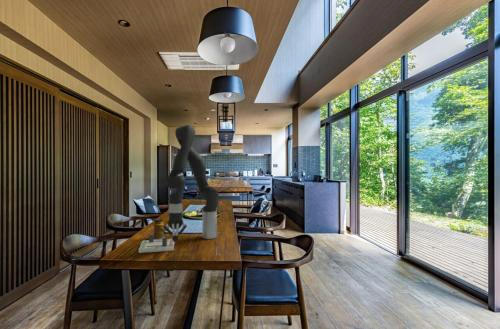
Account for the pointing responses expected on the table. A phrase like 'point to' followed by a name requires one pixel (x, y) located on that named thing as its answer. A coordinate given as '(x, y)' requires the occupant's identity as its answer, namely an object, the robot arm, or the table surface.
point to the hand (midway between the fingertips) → (175, 241)
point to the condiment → (158, 229)
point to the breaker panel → (156, 246)
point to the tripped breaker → (164, 241)
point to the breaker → (151, 237)
